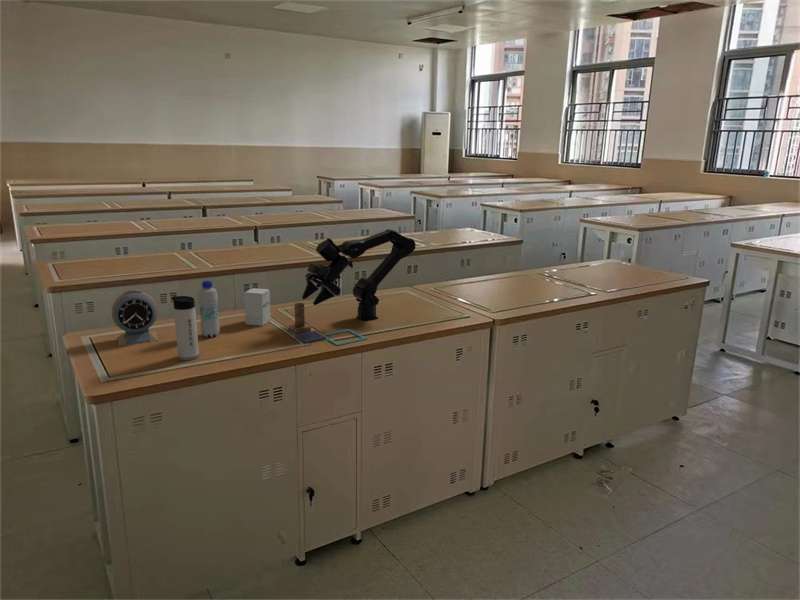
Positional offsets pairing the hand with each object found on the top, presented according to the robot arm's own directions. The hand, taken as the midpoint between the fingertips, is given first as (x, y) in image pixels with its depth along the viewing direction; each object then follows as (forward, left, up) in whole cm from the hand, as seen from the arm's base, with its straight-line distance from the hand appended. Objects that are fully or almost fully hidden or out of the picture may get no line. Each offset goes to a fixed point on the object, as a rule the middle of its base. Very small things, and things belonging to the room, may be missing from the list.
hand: (308, 301), depth 208 cm
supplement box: (+13, -17, -11) cm, 24 cm away
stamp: (+4, 0, -10) cm, 11 cm away
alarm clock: (+55, -22, -11) cm, 60 cm away
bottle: (+33, -12, -11) cm, 36 cm away
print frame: (-5, +16, -10) cm, 20 cm away
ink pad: (+5, +10, -10) cm, 15 cm away
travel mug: (+46, +5, -11) cm, 47 cm away
